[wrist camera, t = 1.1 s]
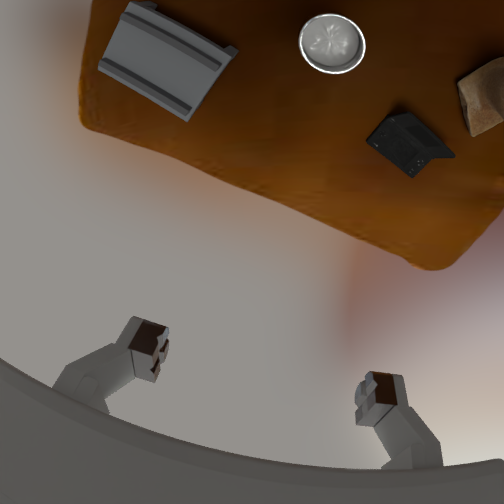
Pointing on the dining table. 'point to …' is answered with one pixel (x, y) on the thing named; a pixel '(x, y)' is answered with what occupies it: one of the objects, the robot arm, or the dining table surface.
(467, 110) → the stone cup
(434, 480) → the robot arm
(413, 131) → the dark grey angled bracket
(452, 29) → the dining table surface
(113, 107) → the dining table surface
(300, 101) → the dining table surface
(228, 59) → the stand
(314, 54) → the beer glass
